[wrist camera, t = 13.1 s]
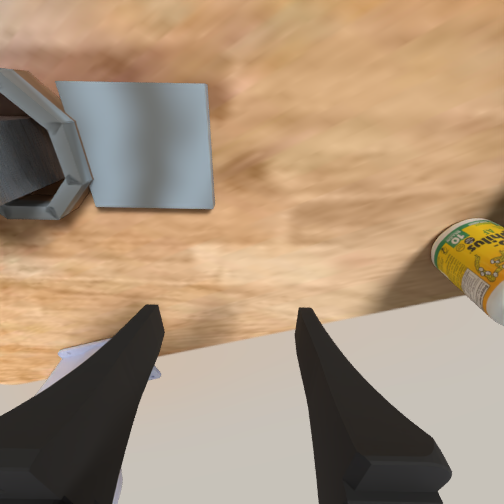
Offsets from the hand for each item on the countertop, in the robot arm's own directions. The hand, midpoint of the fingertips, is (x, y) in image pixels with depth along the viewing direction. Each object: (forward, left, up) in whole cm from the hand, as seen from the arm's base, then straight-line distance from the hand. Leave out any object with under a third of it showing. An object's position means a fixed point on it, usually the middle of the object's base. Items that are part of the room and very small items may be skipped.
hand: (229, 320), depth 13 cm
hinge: (-12, +11, -10) cm, 19 cm away
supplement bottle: (+18, -7, -10) cm, 22 cm away
